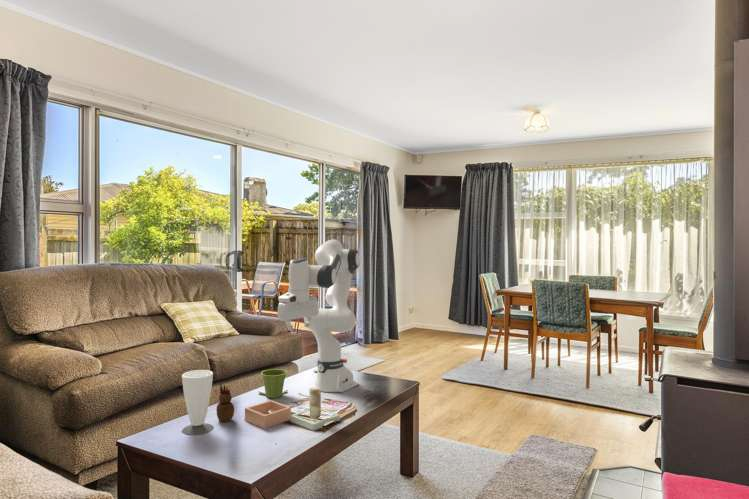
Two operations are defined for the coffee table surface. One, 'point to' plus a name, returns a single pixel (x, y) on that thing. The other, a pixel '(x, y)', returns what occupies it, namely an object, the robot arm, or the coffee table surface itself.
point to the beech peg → (315, 403)
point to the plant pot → (273, 382)
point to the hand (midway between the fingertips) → (298, 328)
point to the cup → (197, 400)
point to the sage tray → (313, 425)
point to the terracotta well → (264, 420)
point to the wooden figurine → (225, 405)
